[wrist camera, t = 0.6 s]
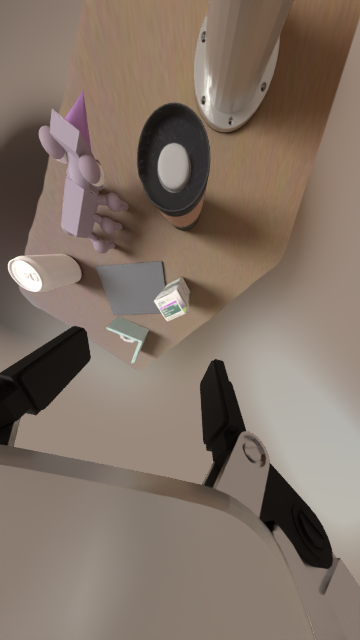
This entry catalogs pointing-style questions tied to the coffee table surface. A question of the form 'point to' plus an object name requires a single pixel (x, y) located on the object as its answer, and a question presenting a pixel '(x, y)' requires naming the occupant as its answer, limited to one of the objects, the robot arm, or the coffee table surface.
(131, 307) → the mat
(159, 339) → the coffee table surface
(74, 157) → the lavender lumpy figurine
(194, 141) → the travel mug
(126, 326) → the right angle wall
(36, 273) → the beverage can
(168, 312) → the syrup box
